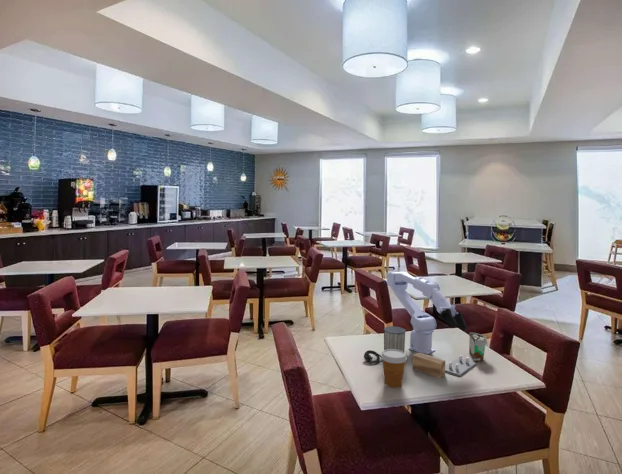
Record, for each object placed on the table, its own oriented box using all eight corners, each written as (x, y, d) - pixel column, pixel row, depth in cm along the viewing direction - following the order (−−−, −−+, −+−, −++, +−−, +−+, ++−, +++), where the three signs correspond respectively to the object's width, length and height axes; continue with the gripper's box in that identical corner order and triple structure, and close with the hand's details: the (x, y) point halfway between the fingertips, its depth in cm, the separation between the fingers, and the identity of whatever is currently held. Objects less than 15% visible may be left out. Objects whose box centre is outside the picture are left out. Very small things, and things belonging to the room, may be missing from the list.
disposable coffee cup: (377, 378, 151) (378, 348, 150) (401, 378, 152) (402, 348, 151) (384, 390, 142) (385, 358, 141) (409, 389, 142) (410, 358, 141)
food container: (489, 364, 166) (490, 342, 165) (474, 363, 167) (475, 340, 166) (482, 354, 178) (483, 332, 177) (468, 352, 179) (469, 331, 178)
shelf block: (439, 378, 152) (440, 363, 152) (412, 369, 161) (413, 355, 160) (444, 375, 155) (445, 360, 155) (418, 366, 164) (418, 352, 163)
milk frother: (409, 365, 165) (410, 331, 163) (380, 372, 157) (381, 336, 156) (388, 353, 177) (388, 321, 176) (359, 359, 170) (360, 326, 168)
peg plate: (440, 370, 159) (440, 362, 159) (458, 359, 171) (458, 352, 171) (459, 376, 154) (459, 368, 153) (476, 364, 166) (476, 357, 165)
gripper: (438, 294, 164) (457, 318, 154) (456, 300, 172) (476, 324, 162) (427, 305, 166) (445, 329, 157) (445, 311, 175) (464, 335, 165)
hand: (460, 327), depth 160 cm, fingers open, 7 cm apart
